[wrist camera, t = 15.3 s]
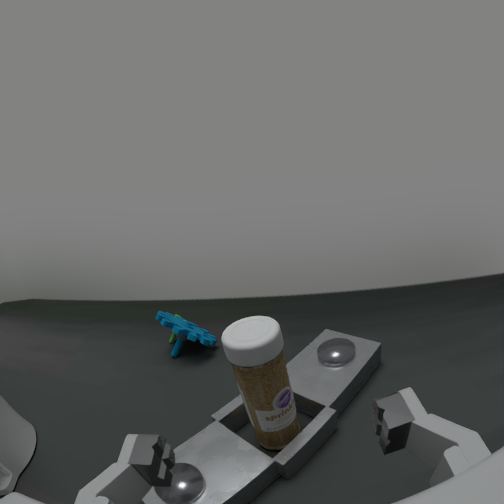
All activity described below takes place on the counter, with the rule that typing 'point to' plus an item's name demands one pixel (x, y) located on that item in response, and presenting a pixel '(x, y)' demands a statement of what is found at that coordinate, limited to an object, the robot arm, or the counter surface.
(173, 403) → the counter surface
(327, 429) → the grey long flat block
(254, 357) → the sprinkles bottle
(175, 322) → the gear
